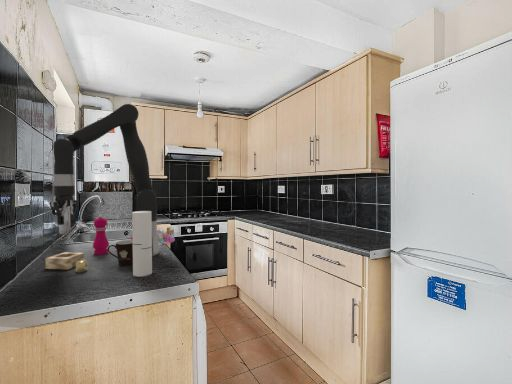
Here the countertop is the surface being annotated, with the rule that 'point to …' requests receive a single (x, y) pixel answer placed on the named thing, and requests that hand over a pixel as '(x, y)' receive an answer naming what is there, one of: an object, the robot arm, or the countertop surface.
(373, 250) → the countertop surface
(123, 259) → the coffee mug
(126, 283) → the countertop surface
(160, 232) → the candy landscape model
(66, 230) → the long pin
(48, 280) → the countertop surface
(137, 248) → the cylindrical container
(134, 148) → the robot arm
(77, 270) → the short pin
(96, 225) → the pepper mill
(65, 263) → the socket block
